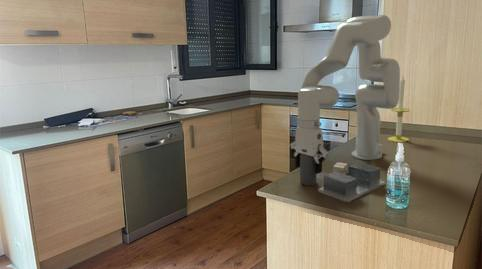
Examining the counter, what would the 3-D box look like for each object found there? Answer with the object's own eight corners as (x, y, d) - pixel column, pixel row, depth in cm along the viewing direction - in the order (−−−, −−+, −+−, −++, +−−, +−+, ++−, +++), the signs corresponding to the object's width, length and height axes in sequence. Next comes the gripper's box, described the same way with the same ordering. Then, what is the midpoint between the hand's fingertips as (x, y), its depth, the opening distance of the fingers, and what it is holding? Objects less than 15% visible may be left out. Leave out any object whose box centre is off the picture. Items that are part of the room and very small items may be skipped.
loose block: (336, 171, 146) (337, 162, 145) (347, 173, 144) (347, 163, 143) (332, 176, 142) (333, 166, 141) (343, 177, 140) (343, 167, 139)
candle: (405, 137, 192) (410, 73, 183) (411, 142, 182) (417, 75, 174) (385, 137, 193) (389, 74, 185) (390, 142, 183) (394, 76, 175)
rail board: (355, 175, 141) (356, 160, 140) (384, 184, 132) (385, 168, 131) (318, 191, 128) (318, 175, 126) (347, 202, 119) (348, 185, 117)
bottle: (318, 181, 137) (319, 142, 134) (312, 186, 133) (313, 146, 129) (303, 178, 140) (303, 140, 137) (297, 183, 135) (297, 144, 132)
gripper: (335, 125, 127) (334, 173, 131) (297, 118, 140) (297, 162, 144) (321, 129, 122) (320, 178, 126) (283, 121, 135) (283, 166, 140)
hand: (308, 169), depth 135 cm, fingers open, 8 cm apart
